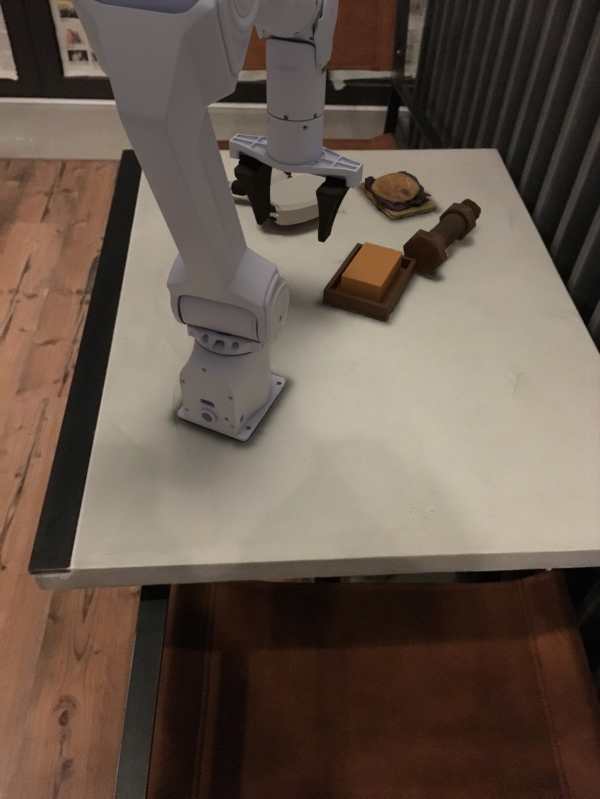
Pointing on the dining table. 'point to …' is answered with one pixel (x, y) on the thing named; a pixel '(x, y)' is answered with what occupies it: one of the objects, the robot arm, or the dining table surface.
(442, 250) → the bolt
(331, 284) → the frame
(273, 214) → the robot toy
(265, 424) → the dining table surface
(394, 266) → the orange block
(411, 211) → the brown sandwich
